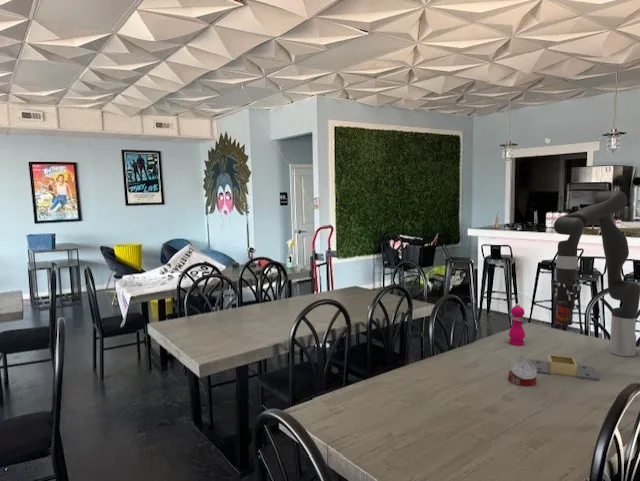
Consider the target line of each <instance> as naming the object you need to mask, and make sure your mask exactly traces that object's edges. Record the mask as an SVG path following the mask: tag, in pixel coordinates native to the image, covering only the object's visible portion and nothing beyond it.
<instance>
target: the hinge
mask: <svg viewBox="0 0 640 481" xmlns="http://www.w3.org/2000/svg"><path fill="white" fill-rule="evenodd" d="M528 359H529V360H530V361H531V362H532V363H533V365H534V366H535V368H536V370H537V374H541V375H549V376H550V375H551V374H554V375H563V376H570V377H576V378H577V379H582V380H591V381H598V382H600V376H599V375H598V373H597V370H596V368H595V367H594V366H593V365H592V366H591V365H583V364H577V362H576V359H575V357H574V356H572V357H570V356H563V355H556V354H548V355H547V360H541V359H533V358H528Z"/></svg>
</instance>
